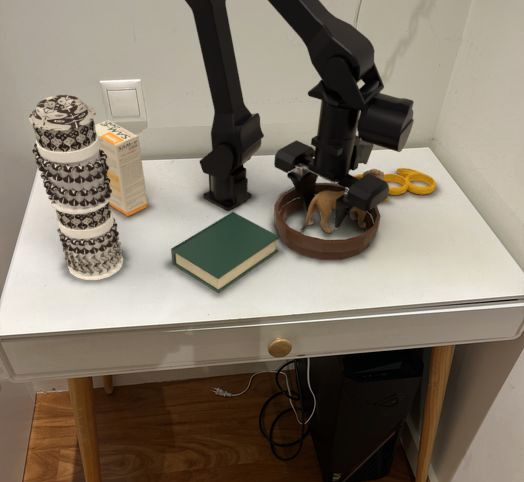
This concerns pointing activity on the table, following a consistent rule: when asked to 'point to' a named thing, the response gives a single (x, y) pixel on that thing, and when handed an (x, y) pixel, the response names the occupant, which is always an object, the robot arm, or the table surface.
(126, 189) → the supplement box
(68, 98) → the decorative candle
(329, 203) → the lion figurine
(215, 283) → the book
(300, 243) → the ring
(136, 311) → the table surface
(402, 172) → the novelty glasses
